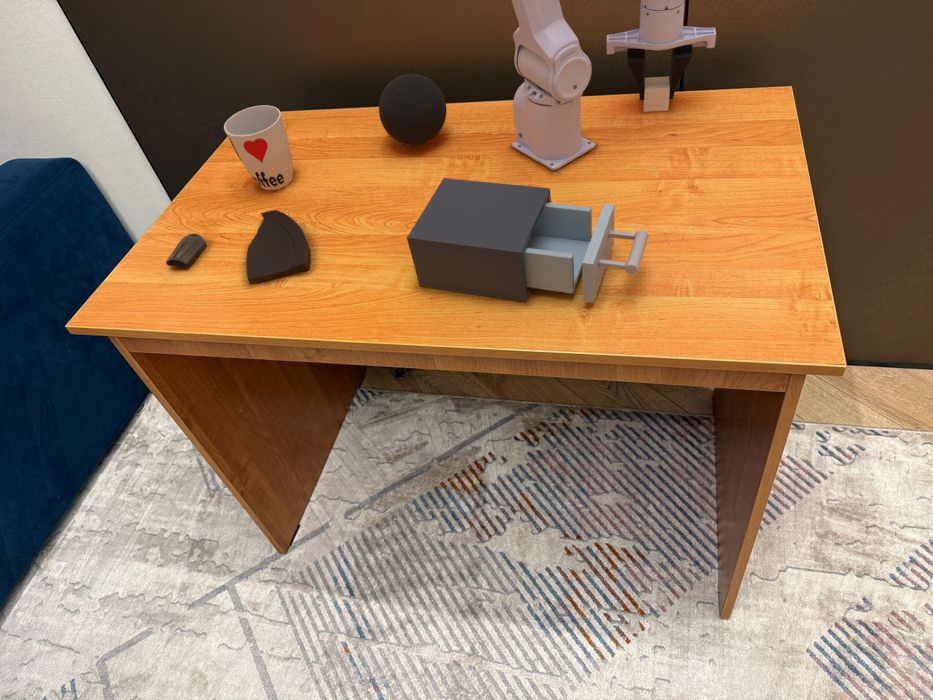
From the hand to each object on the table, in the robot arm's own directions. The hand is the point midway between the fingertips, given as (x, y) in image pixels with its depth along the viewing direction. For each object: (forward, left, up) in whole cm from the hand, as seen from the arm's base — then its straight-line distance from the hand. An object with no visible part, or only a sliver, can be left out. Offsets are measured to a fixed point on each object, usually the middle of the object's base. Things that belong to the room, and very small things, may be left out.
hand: (656, 96), depth 103 cm
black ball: (-20, -29, -2) cm, 36 cm away
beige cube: (0, 0, -1) cm, 1 cm away
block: (-21, -67, -2) cm, 71 cm away
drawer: (+18, -34, -1) cm, 38 cm away
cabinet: (+10, -39, -1) cm, 41 cm away
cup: (-28, -50, -2) cm, 58 cm away
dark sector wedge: (-12, -57, -2) cm, 59 cm away
